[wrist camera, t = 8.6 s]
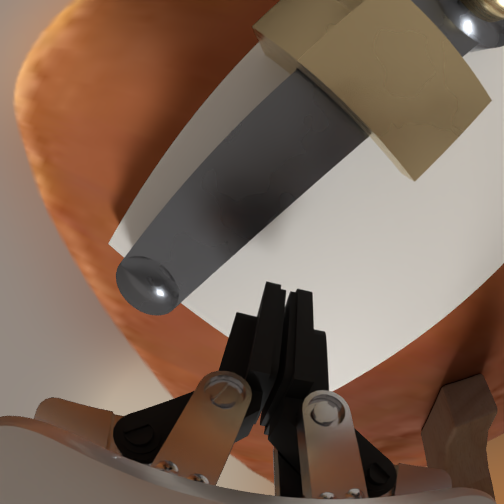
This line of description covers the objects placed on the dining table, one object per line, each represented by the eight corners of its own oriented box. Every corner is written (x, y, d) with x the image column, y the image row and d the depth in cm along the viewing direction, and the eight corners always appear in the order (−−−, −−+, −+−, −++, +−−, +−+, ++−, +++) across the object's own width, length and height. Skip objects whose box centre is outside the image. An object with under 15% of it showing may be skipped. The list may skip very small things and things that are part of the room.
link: (439, -43, 5) (456, -58, 3) (501, 30, 6) (526, 26, 4) (116, 252, 14) (95, 272, 12) (180, 308, 15) (167, 334, 13)
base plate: (406, -62, 5) (415, -73, 4) (562, 162, 9) (576, 168, 8) (121, 232, 15) (108, 243, 14) (321, 379, 19) (322, 396, 17)
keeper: (400, -55, 5) (436, -100, 1) (493, 42, 6) (557, 33, 2) (264, 53, 9) (247, 17, 5) (377, 158, 10) (425, 189, 6)
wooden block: (440, 384, 18) (477, 577, 2) (482, 370, 17) (532, 545, 1) (419, 432, 22) (435, 578, 6) (455, 421, 21) (480, 559, 5)
